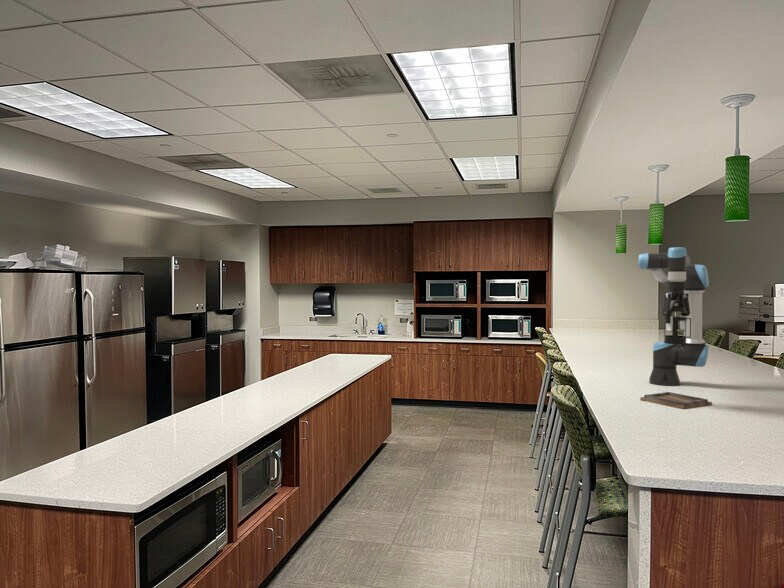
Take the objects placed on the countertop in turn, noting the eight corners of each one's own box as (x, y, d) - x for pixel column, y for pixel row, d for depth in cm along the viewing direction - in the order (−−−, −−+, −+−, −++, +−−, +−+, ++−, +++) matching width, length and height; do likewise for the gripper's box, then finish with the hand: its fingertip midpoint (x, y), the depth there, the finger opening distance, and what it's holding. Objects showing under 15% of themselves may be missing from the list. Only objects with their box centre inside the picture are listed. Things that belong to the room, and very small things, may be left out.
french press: (661, 343, 264) (661, 293, 263) (663, 341, 272) (663, 292, 272) (690, 344, 258) (690, 293, 258) (691, 343, 266) (691, 293, 266)
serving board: (668, 396, 280) (668, 391, 280) (711, 404, 260) (712, 399, 260) (640, 400, 270) (640, 394, 270) (683, 409, 251) (683, 403, 251)
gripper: (684, 281, 273) (684, 328, 273) (653, 281, 263) (653, 330, 263) (699, 281, 266) (698, 330, 266) (668, 281, 256) (667, 331, 256)
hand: (676, 330), depth 265 cm, fingers closed on french press, 9 cm apart
